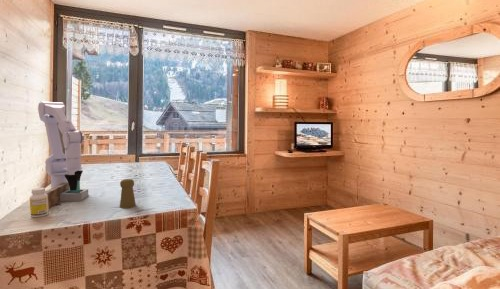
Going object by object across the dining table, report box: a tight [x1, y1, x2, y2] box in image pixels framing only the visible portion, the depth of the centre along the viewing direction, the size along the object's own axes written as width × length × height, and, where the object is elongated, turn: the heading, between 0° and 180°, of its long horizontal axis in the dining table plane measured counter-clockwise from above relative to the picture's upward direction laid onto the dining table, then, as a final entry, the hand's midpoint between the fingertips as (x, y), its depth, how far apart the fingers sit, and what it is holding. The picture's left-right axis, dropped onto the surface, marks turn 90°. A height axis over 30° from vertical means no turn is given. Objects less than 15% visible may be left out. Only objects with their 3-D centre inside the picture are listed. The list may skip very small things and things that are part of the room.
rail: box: [45, 183, 69, 209], centre depth 124 cm, size 22×2×6 cm, turn 12°
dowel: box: [69, 180, 81, 193], centre depth 130 cm, size 4×4×7 cm
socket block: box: [59, 188, 89, 202], centre depth 130 cm, size 9×9×4 cm
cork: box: [119, 178, 137, 209], centre depth 118 cm, size 6×6×11 cm
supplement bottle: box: [29, 187, 50, 218], centre depth 106 cm, size 5×5×10 cm
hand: (74, 188), depth 130 cm, fingers open, 7 cm apart
